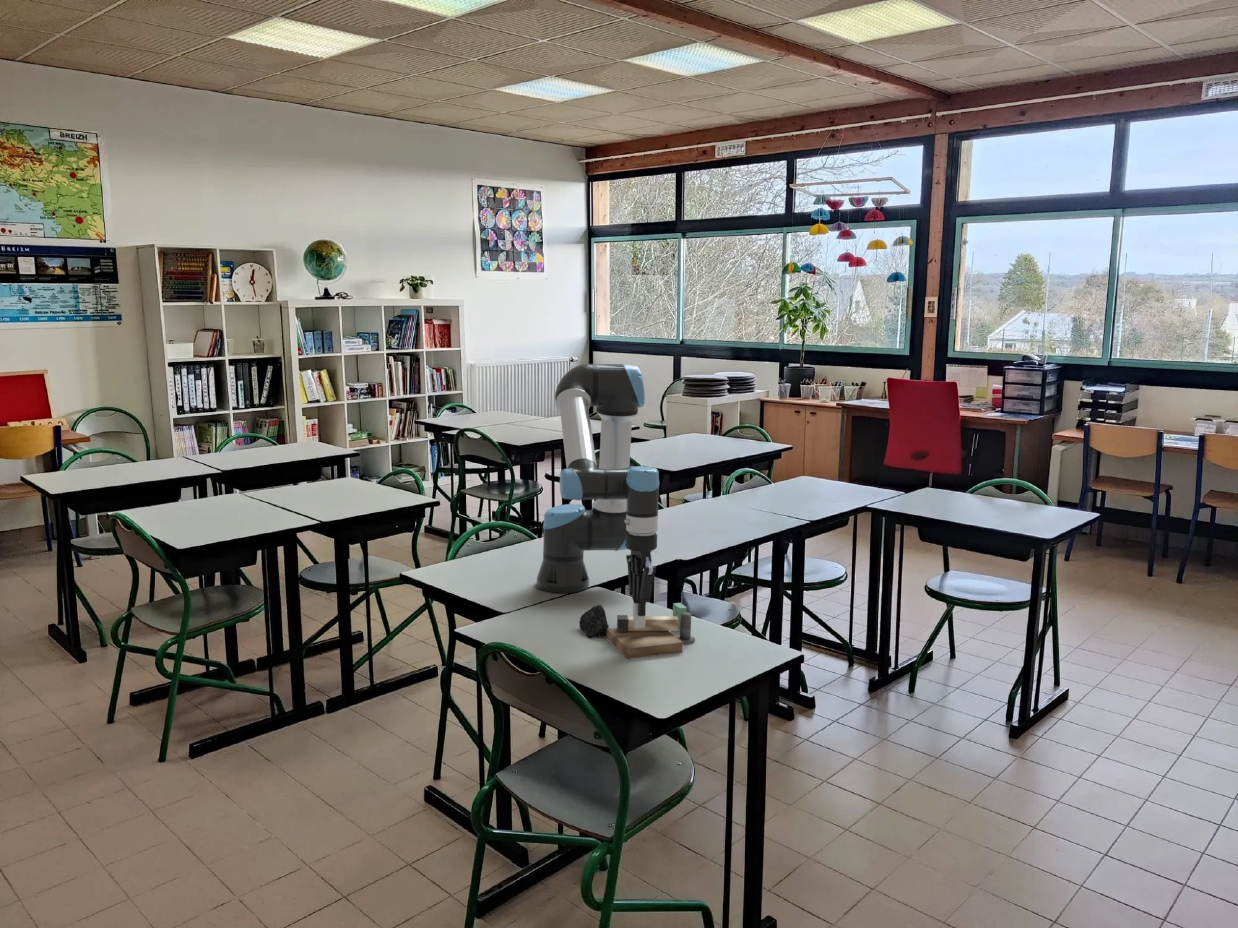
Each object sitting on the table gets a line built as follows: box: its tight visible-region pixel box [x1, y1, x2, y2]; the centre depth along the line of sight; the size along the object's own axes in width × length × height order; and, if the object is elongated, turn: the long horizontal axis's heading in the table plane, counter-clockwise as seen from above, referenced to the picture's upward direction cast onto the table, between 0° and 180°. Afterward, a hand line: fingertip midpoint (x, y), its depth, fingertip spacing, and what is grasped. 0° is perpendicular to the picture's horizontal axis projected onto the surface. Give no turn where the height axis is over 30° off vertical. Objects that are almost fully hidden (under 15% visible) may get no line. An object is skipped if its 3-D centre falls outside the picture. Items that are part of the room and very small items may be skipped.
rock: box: [579, 604, 610, 639], centre depth 234 cm, size 7×10×6 cm
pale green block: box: [672, 602, 688, 631], centre depth 238 cm, size 4×2×6 cm, turn 21°
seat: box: [605, 611, 696, 660], centre depth 226 cm, size 14×20×7 cm
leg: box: [616, 614, 679, 632], centre depth 228 cm, size 15×3×3 cm, turn 95°
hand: (639, 627), depth 226 cm, fingers closed
